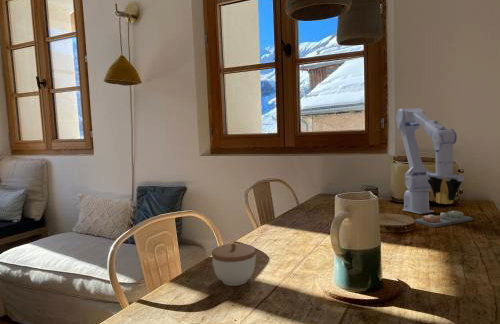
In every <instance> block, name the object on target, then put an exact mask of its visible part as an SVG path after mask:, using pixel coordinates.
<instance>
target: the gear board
mask: <svg viewBox="0 0 500 324" xmlns="http://www.w3.org/2000/svg"><path fill="white" fill-rule="evenodd" d="M439 213H440V215H439V214H438V215H434V214H428V215H424V214H423V216H422V217H421V218H415V219H414V220H413V222H414V221H415V222H414V223H415V224H419V225H424V226H427V227H430V228H431V227H432V228H438V227H445V226H449V225H454V224H459V223H465V222H470V221H474V220H473V218H474V217H471V216H468V215H467V216H466V215H465V213H464V212H462V211H458V210H451V211H449V210H448V211H447V212H439Z"/></svg>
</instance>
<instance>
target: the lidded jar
mask: <svg viewBox="0 0 500 324" xmlns="http://www.w3.org/2000/svg"><path fill="white" fill-rule="evenodd" d="M256 254H257V251H256V248H255V247H254V246H253V245H251V244H248V243H247V244H246V243H235V242H231V243H228V244H223V245H218V246H217V247H215V248H213V249H212V250H211V258H212V267H213V270H214V273H215V275H216V276H217V278H218V279H219V280H220V281H222V283H223V284H224V285H225V286H230V287H231V286H232V287H234V286H241V285H245V284H246V283H247V282H248V280H250V278H251V276H252V275H253V273H254V272H255V269H256V268H255V266H256Z"/></svg>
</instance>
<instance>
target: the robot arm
mask: <svg viewBox="0 0 500 324" xmlns="http://www.w3.org/2000/svg"><path fill="white" fill-rule="evenodd" d="M425 113H426V112H425V110H424V109H423V108H421V107H418V108H417V107H416V108H399V109H398V110H397V112H396V115H395V120H396V125H397V128H398V130H399V131H400V133H401V138H402V141H403V146H404V150H405V154H406V158H407V162H408V168H409V169H407V171H406V172H405V174H404V178H405V179H404V184H405V187H406V189H407V190H405V192H404V194H403V209H402V211H405V212H409V213H413V214H417V215H418V214H419V215H424V214H429V213H434V212H435V210H432V209H430V203H429V191H430V192H431V191H432V193H433V197H434V198H435V199H436V193H437V192H441V189H442V188H441V187H442V182H443V180H446V181H445V184H446V186H447V192H448V198H449V200H453V201H455V199H456V194H457V191H458V190H459V188H460V186H461V185H462V183H463V182H464V181H465V175H462V174H461V175H460V174H456V173H455V174H454V165H453V164H454V144H456V143H457V140H458V139H457V138H458V136H457V132H456V131H455V130H454V128H446V127H445V126H444V125H442V124H441V123H440V122H439V120H437V119H430V118H429V117H428V116H427V115H426V114H425ZM420 126H421V127H422V128H423V131H424V133H425V134H427V135H428V136H429V137H430V138H431V142H432V144H433V149H434V151H435V172H431V171H430V169H428V168H427V167H425V166H424V165H423V160H422V157H421V153H420V149H419V145H418V141H417V138H416V134H415V132H416V131H417V130H419V128H420Z"/></svg>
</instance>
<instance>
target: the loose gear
mask: <svg viewBox="0 0 500 324" xmlns="http://www.w3.org/2000/svg"><path fill="white" fill-rule="evenodd" d="M435 202H436V204H437V203H438V204H441V205H448V204H449V205H451V204H453V203H454V200H449V198H448V191H440V192H437V193H436V198H435Z"/></svg>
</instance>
